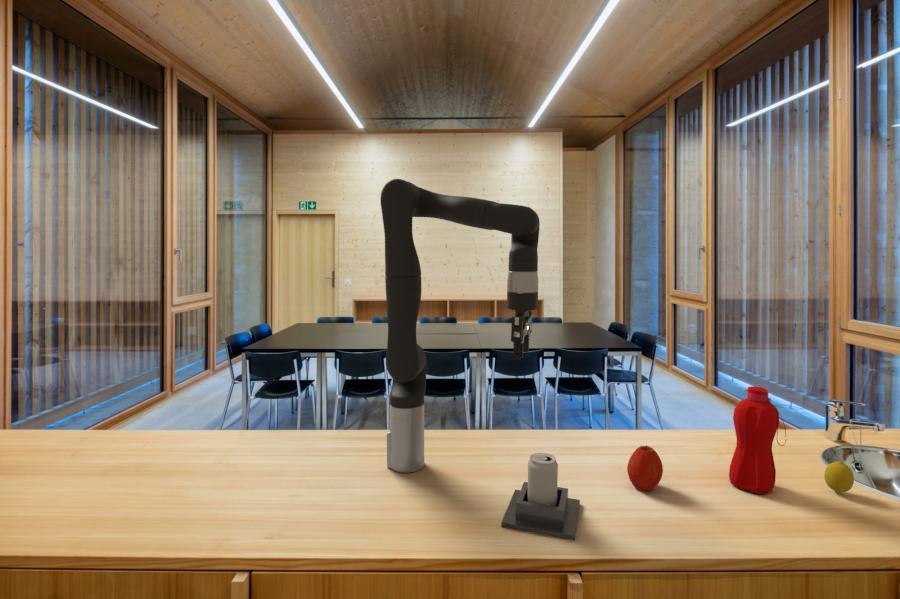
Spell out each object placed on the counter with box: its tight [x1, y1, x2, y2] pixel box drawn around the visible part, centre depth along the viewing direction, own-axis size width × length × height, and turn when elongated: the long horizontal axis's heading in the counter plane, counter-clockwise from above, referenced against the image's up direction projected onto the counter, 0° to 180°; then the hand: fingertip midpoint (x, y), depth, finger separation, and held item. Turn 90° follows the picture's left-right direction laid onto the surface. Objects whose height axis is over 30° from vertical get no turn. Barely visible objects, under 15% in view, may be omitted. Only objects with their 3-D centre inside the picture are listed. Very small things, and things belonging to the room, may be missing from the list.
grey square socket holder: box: [500, 481, 581, 541], centre depth 108 cm, size 15×15×4 cm
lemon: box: [824, 460, 855, 494], centre depth 118 cm, size 6×6×8 cm
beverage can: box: [527, 452, 559, 507], centre depth 107 cm, size 6×6×12 cm
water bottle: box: [728, 385, 787, 495], centre depth 120 cm, size 9×11×25 cm
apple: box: [626, 444, 664, 492], centre depth 120 cm, size 8×8×11 cm
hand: (521, 355), depth 121 cm, fingers open, 8 cm apart
